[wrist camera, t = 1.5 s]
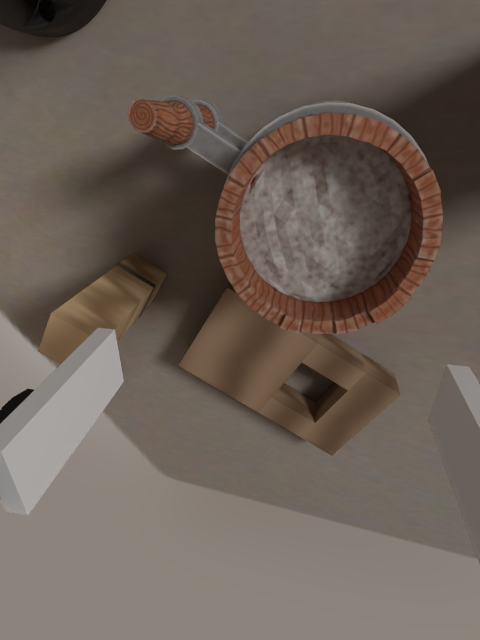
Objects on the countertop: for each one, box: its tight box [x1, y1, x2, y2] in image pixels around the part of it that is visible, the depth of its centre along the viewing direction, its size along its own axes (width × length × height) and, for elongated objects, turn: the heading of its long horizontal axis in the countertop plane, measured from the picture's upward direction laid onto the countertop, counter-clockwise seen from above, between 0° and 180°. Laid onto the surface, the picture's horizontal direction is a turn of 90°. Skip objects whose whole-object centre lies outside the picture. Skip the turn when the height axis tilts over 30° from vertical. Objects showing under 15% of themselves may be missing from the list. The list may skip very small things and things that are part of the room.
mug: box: [128, 95, 443, 334], centre depth 27 cm, size 14×19×15 cm
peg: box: [38, 253, 167, 364], centre depth 34 cm, size 4×4×14 cm
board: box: [178, 282, 400, 455], centre depth 40 cm, size 20×11×4 cm, turn 60°
